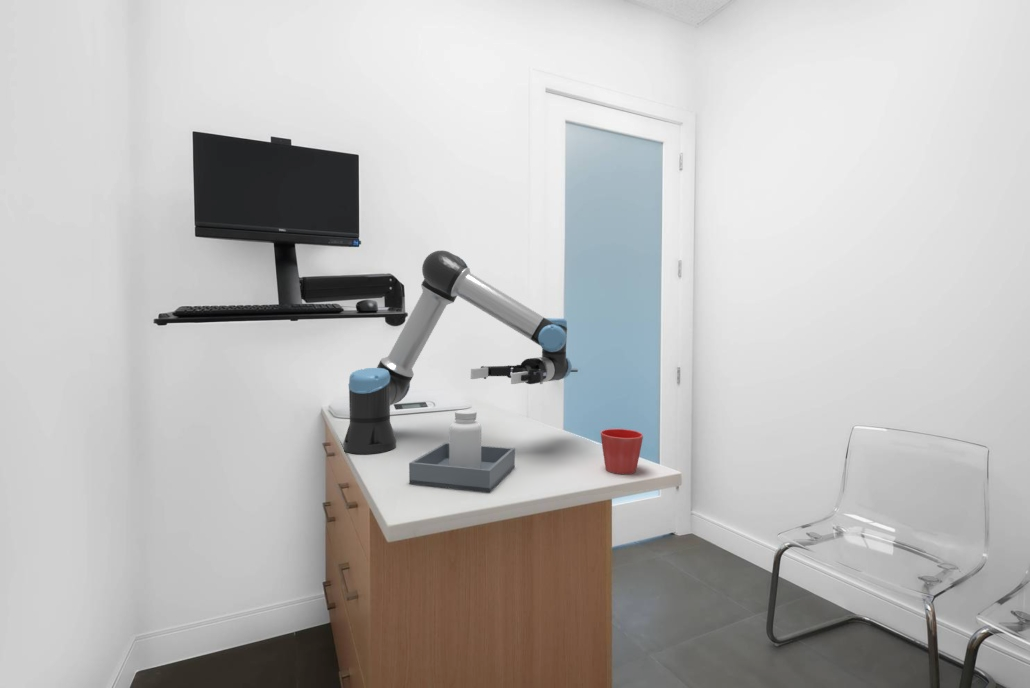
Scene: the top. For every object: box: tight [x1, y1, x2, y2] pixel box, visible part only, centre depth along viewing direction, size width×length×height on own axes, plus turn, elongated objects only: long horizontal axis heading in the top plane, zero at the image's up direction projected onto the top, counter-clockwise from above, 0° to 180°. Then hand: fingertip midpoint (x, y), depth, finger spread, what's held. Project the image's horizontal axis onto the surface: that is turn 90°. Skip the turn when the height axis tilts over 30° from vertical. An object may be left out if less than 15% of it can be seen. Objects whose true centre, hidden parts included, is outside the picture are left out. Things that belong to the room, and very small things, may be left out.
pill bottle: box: [448, 409, 482, 469], centre depth 123 cm, size 8×8×15 cm
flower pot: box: [600, 428, 644, 475], centre depth 129 cm, size 11×11×10 cm
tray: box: [408, 442, 516, 494], centre depth 124 cm, size 20×20×5 cm
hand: (491, 376), depth 130 cm, fingers open, 13 cm apart
